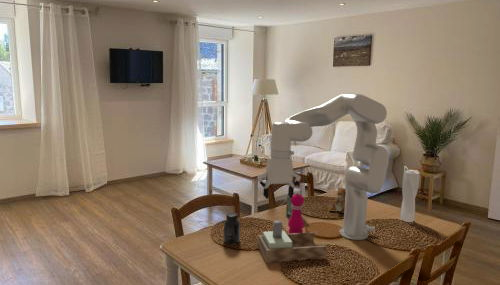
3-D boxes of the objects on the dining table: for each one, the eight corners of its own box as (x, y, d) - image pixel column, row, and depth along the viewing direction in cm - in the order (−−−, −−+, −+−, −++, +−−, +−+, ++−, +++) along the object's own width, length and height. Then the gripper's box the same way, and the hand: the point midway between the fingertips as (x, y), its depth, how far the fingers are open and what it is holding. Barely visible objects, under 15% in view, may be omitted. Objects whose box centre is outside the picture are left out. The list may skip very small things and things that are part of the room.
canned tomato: (286, 213, 195) (287, 192, 194) (301, 214, 194) (302, 193, 193) (285, 218, 188) (286, 197, 186) (301, 219, 187) (302, 198, 185)
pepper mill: (303, 237, 165) (305, 194, 162) (286, 235, 167) (288, 192, 164) (304, 231, 172) (306, 189, 169) (288, 229, 174) (290, 188, 170)
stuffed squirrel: (327, 211, 200) (328, 187, 197) (339, 205, 210) (341, 182, 208) (344, 216, 193) (346, 191, 191) (356, 209, 204) (358, 186, 202)
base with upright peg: (283, 244, 155) (284, 216, 153) (291, 256, 145) (293, 227, 143) (262, 245, 154) (263, 217, 152) (269, 257, 143) (270, 228, 141)
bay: (312, 243, 160) (313, 232, 159) (325, 258, 146) (326, 246, 145) (258, 246, 155) (258, 235, 154) (266, 262, 141) (266, 250, 141)
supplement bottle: (242, 241, 160) (243, 214, 158) (231, 246, 155) (232, 218, 153) (231, 236, 164) (232, 210, 162) (220, 241, 160) (220, 214, 158)
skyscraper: (395, 220, 189) (400, 166, 184) (402, 217, 194) (407, 164, 189) (410, 225, 183) (416, 169, 179) (417, 221, 188) (423, 167, 184)
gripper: (298, 152, 148) (296, 194, 151) (256, 152, 145) (254, 195, 147) (305, 156, 141) (302, 199, 144) (260, 156, 137) (258, 201, 140)
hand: (278, 197), depth 145 cm, fingers open, 9 cm apart
